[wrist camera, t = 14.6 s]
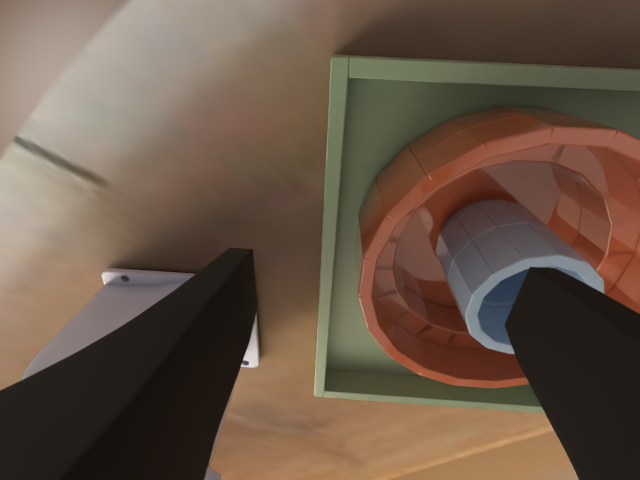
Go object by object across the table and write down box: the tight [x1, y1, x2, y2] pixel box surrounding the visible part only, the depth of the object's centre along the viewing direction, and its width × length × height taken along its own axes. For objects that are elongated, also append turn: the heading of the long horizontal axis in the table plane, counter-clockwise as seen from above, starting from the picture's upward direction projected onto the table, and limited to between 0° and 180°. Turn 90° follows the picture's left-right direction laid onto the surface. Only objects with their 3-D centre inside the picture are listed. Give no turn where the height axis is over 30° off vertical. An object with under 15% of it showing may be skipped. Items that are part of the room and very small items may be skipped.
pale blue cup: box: [435, 199, 604, 354], centre depth 15 cm, size 5×5×6 cm
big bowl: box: [355, 106, 640, 388], centre depth 16 cm, size 13×13×5 cm
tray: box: [314, 54, 640, 413], centre depth 18 cm, size 17×20×2 cm
